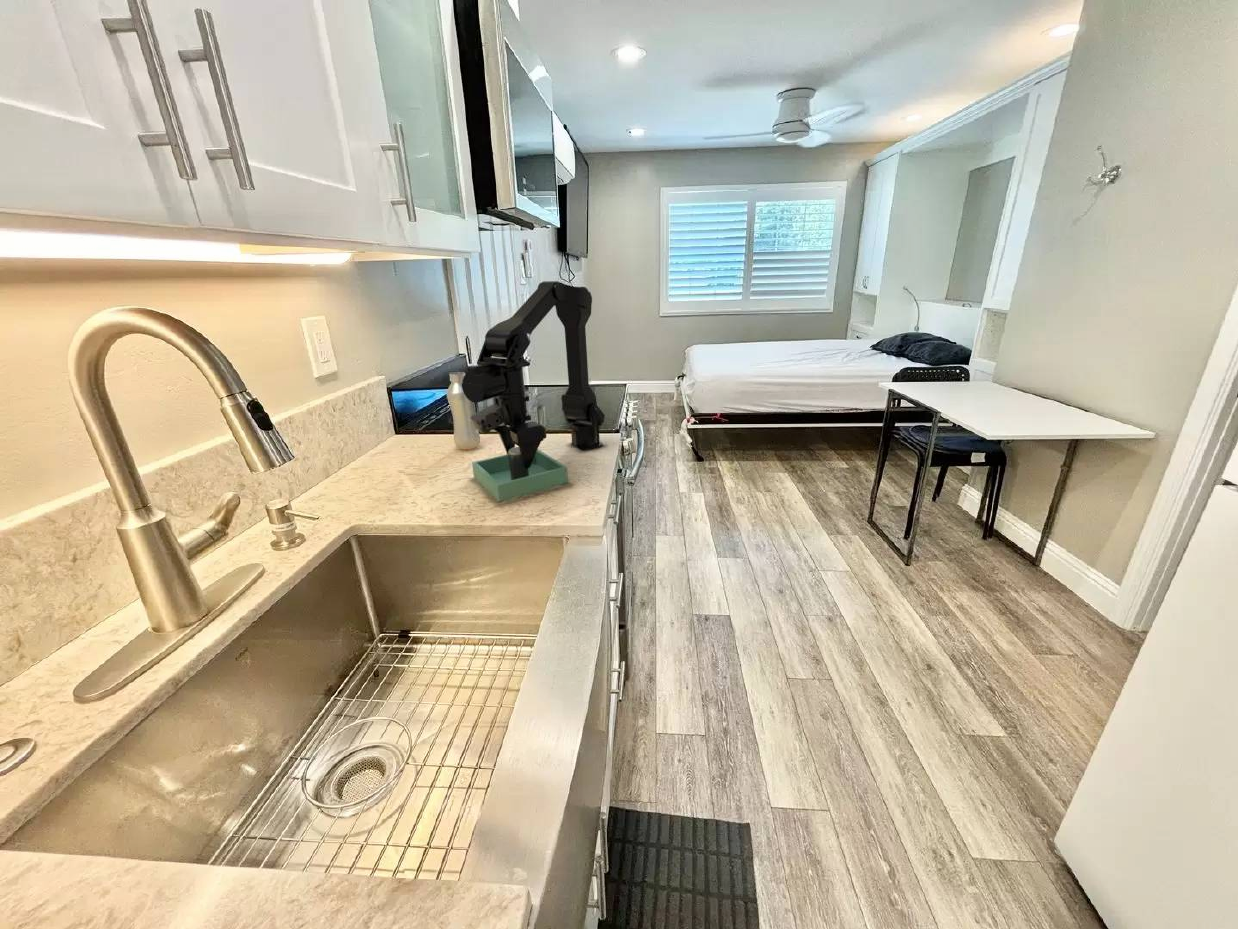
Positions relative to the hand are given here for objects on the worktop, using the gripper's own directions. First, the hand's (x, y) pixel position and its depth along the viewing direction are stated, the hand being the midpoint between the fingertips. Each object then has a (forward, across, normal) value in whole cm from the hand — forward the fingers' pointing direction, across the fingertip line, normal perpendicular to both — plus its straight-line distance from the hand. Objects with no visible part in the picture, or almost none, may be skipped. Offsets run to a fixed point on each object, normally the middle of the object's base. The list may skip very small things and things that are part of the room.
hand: (518, 461), depth 106 cm
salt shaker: (+4, 0, 0) cm, 4 cm away
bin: (+5, 0, 0) cm, 5 cm away
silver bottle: (+5, -30, -2) cm, 31 cm away
